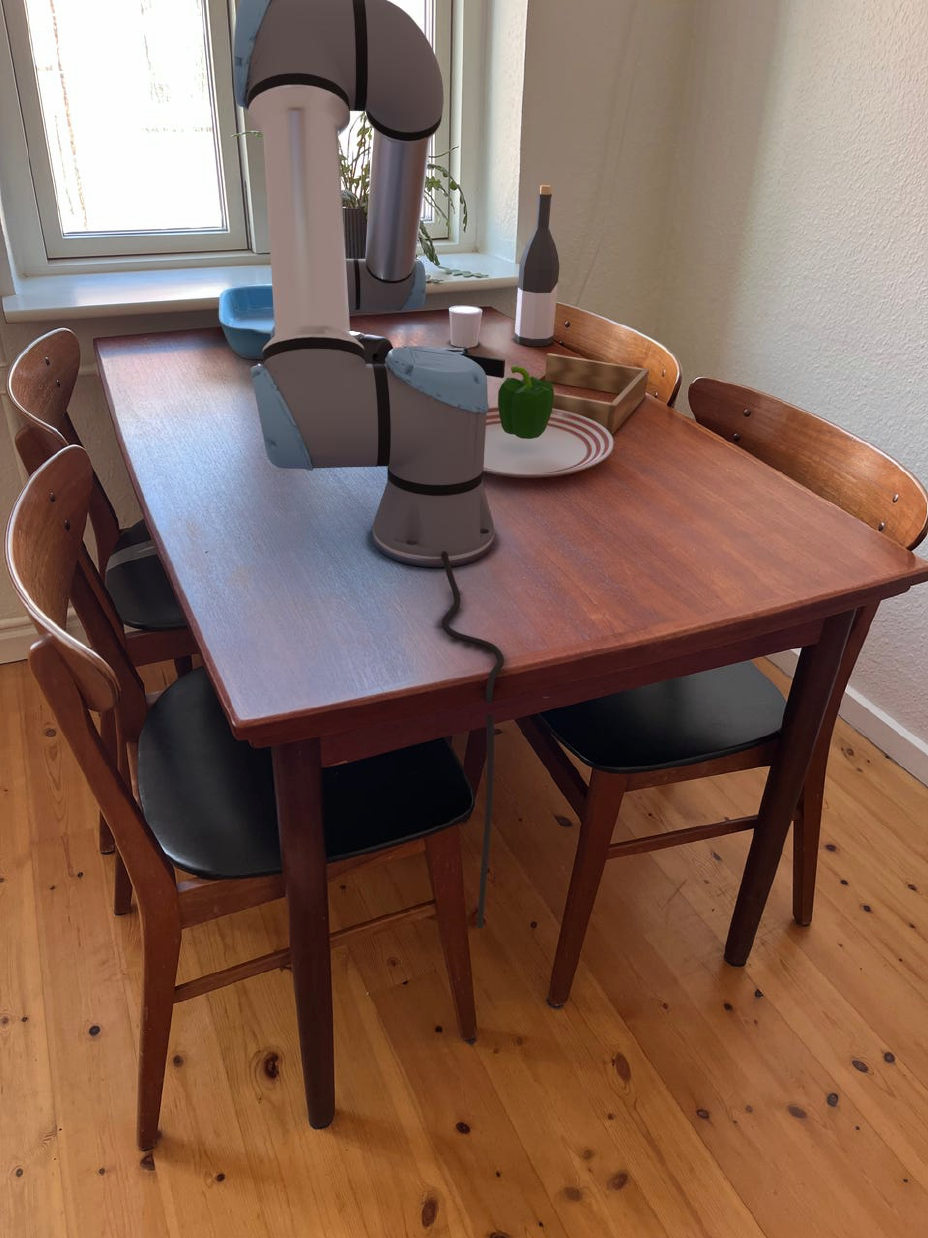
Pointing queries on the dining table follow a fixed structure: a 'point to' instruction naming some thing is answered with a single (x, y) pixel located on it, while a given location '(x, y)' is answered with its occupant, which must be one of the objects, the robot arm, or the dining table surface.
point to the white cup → (465, 325)
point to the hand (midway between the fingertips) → (487, 380)
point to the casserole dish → (247, 318)
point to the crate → (597, 388)
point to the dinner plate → (546, 447)
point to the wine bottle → (538, 281)
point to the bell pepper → (525, 405)
